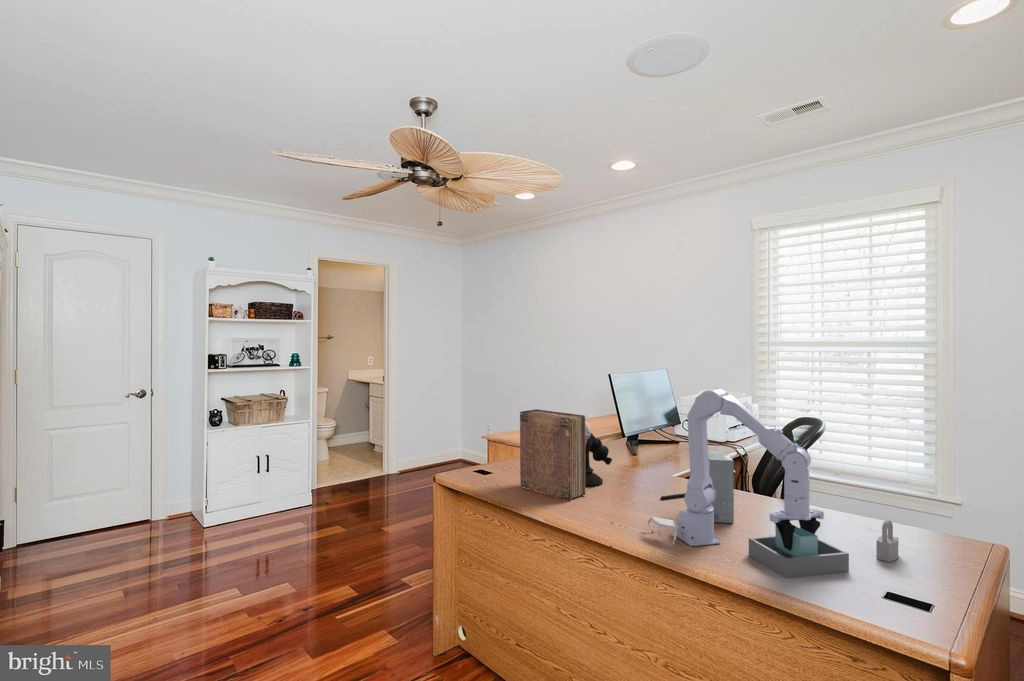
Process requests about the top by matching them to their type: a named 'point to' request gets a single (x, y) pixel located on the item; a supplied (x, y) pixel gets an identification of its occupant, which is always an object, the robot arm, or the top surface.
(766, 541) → the grey crate
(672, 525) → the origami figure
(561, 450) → the book
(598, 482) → the sculpture
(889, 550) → the padlock
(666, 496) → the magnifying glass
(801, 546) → the teal mini crate
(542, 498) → the top surface
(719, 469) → the hard drive box
